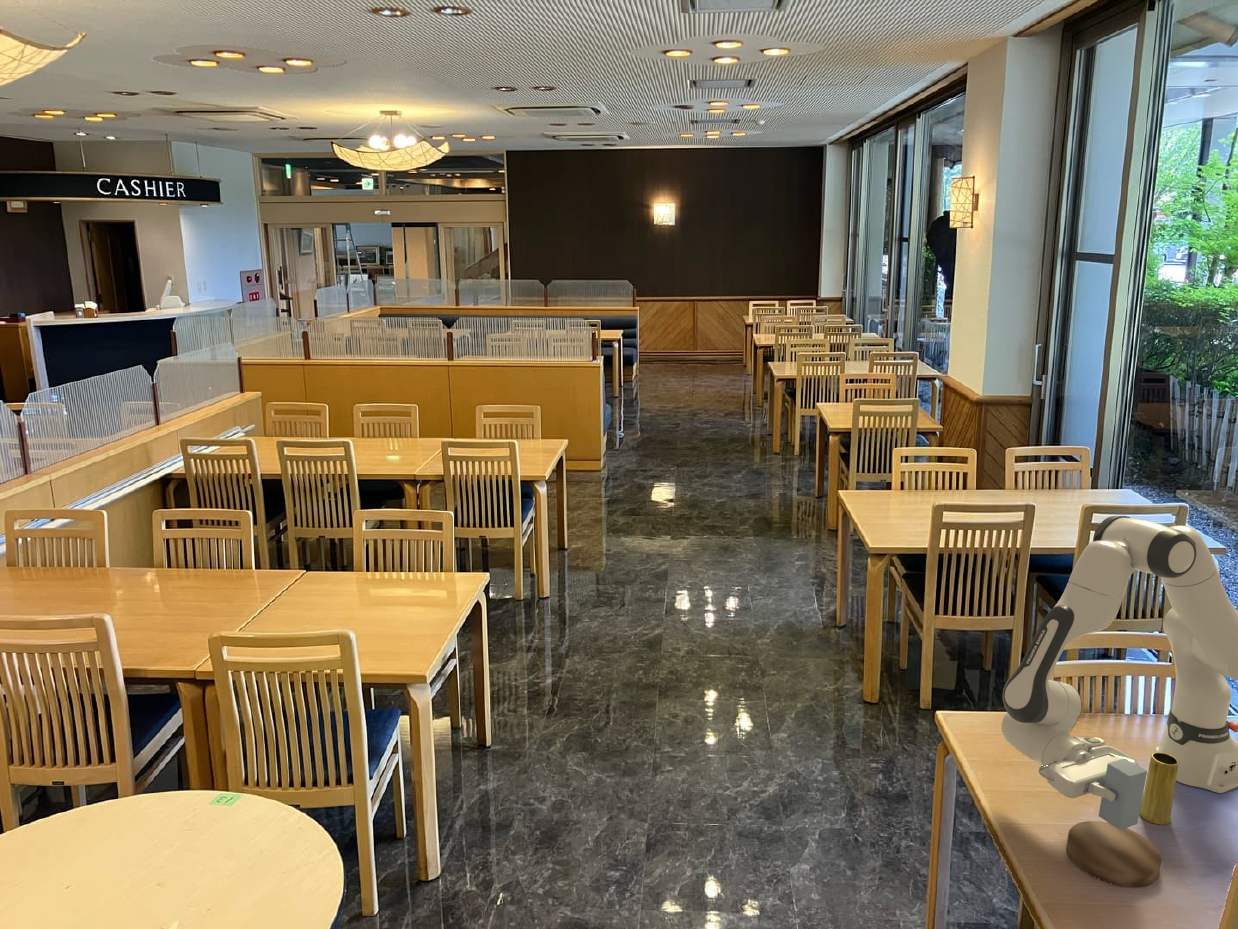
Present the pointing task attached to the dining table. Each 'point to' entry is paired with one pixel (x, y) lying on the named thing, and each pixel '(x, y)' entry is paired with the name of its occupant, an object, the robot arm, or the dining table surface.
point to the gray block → (1123, 793)
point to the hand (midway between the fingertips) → (1126, 794)
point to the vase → (1159, 788)
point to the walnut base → (1113, 854)
